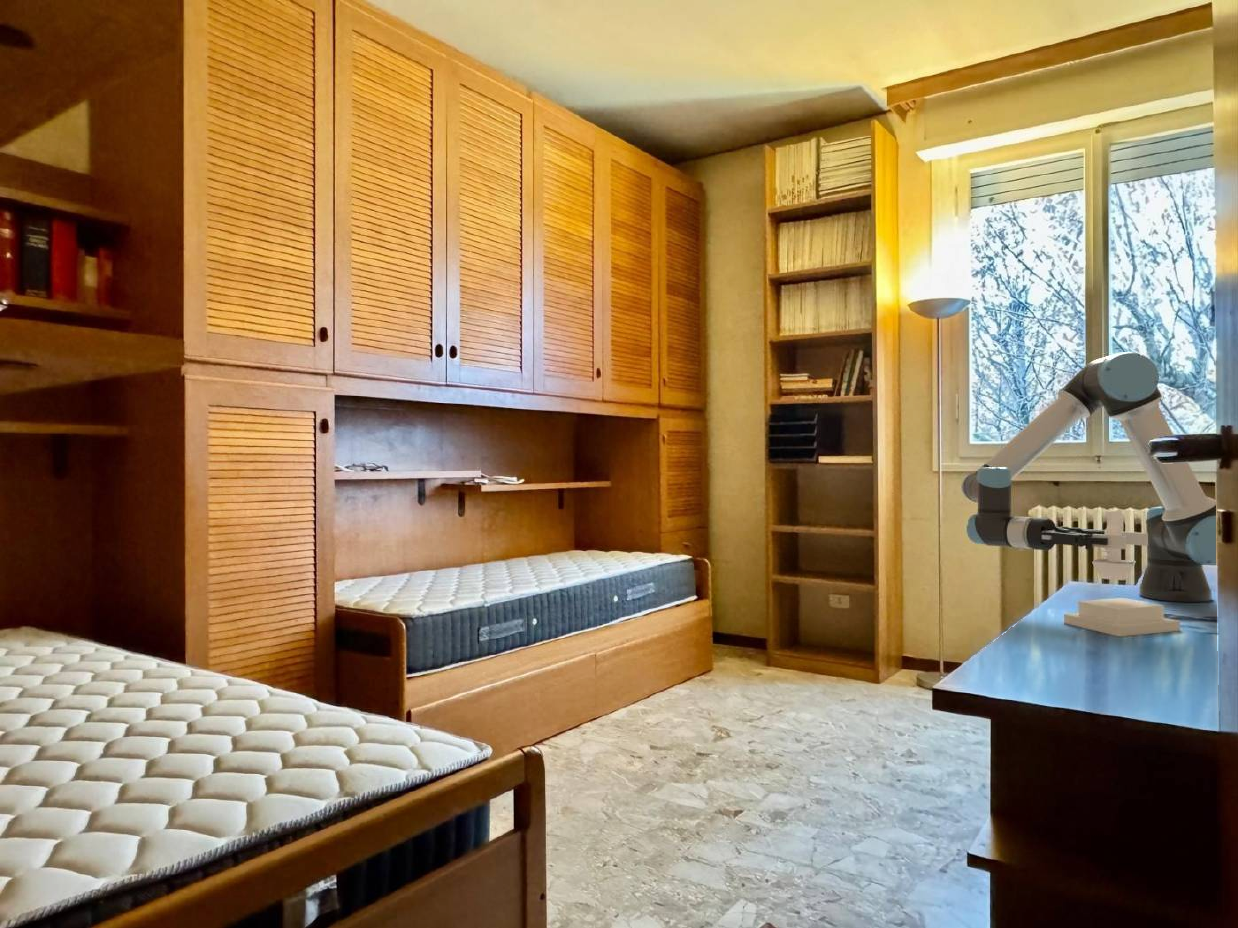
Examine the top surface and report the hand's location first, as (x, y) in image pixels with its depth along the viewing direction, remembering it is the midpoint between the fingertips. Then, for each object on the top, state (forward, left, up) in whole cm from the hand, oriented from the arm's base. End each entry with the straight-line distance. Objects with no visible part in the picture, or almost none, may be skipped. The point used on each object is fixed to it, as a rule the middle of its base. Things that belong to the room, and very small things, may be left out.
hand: (1136, 541), depth 172 cm
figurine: (+1, -4, -9) cm, 10 cm away
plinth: (+4, -1, -18) cm, 19 cm away
